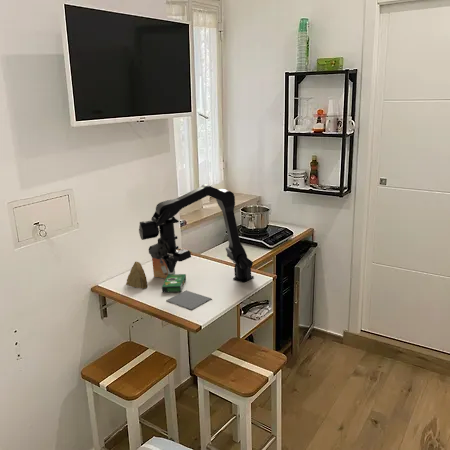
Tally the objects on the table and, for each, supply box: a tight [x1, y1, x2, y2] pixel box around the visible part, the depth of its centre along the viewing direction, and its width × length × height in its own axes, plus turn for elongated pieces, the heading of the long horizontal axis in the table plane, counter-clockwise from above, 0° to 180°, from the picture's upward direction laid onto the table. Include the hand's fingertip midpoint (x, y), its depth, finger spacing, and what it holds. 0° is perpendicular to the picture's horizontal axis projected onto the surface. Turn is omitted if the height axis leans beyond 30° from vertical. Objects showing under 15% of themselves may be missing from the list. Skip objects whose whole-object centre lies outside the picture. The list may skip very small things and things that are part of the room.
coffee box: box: [161, 273, 187, 293], centre depth 200 cm, size 8×3×13 cm
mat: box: [166, 289, 212, 311], centre depth 187 cm, size 14×11×1 cm
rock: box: [125, 261, 148, 290], centre depth 203 cm, size 11×9×10 cm
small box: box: [151, 257, 176, 280], centre depth 211 cm, size 8×6×10 cm
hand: (171, 272), depth 189 cm, fingers closed
